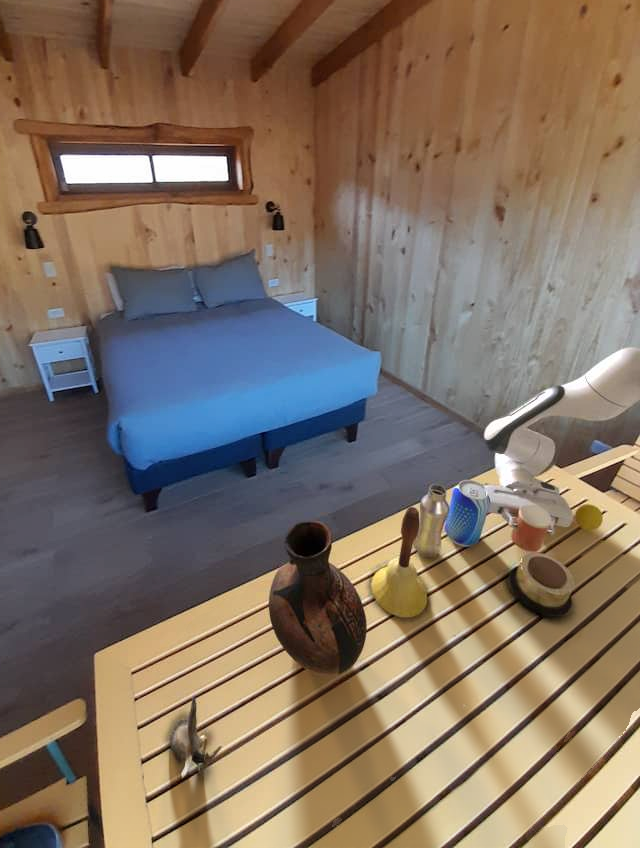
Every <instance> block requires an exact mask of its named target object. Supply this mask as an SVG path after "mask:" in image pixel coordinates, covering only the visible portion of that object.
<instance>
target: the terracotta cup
mask: <svg viewBox="0 0 640 848" xmlns="http://www.w3.org/2000/svg"><path fill="white" fill-rule="evenodd" d="M516 519H517V523H518V525H517V528H512V529H511V534H510V538H511V541H512V543H514V544H515V545H516V546H517V547H518V548H520V549H521V550H523V551H526V552H528V553H534V552H535V553H537V552H539V551H540V550H541V548H542V545H543V543H544V541H545V537H546V536H547V534H546V533H547V531H548V528H549V526H550V524H551V521H552V519H551V517H550V515H549V514H548V513H547V512H546V511H545V510H543V509H542V508H540V507H538V506H535V505H530V504H526V505H523V506H521V507H520V509H519V513H518V516H517V518H516Z"/></svg>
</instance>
